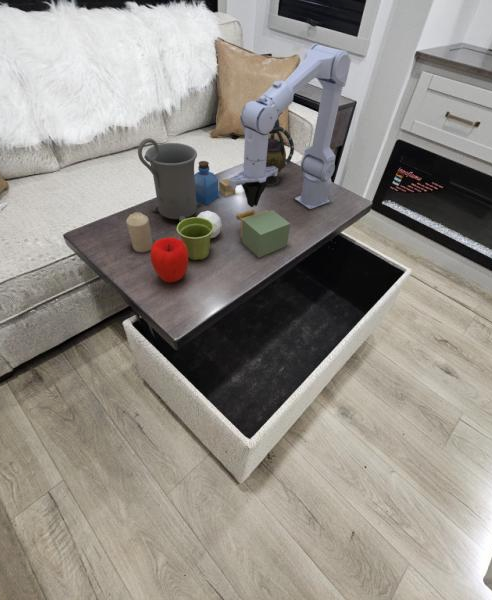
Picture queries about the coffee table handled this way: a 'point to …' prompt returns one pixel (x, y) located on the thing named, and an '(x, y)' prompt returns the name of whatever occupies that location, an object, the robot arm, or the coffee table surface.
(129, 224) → the candle
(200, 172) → the perfume bottle
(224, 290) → the coffee table surface
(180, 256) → the apple
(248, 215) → the drawer
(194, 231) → the plant pot
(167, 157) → the mug
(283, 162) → the teapot
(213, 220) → the geometric ball
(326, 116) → the robot arm
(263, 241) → the sage green box
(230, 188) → the block
